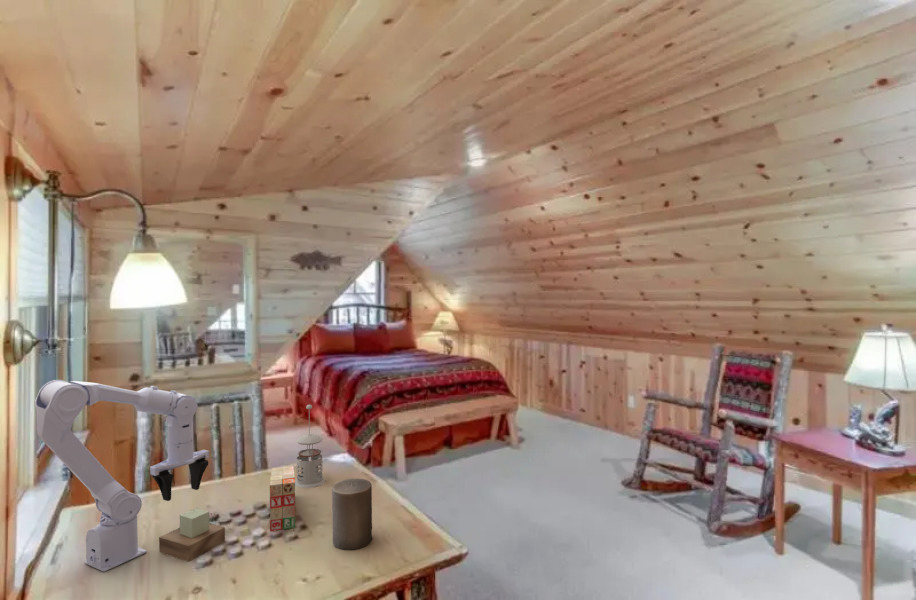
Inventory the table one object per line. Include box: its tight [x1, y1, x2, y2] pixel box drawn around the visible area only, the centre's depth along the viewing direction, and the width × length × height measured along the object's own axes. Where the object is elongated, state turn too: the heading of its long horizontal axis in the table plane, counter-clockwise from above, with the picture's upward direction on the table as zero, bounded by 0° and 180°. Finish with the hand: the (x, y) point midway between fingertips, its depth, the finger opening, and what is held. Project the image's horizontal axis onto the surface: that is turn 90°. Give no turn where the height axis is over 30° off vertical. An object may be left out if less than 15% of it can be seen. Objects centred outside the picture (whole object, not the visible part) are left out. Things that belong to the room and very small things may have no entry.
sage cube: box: [179, 507, 210, 538], centre depth 123 cm, size 4×4×4 cm
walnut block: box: [158, 522, 226, 562], centre depth 123 cm, size 10×10×4 cm
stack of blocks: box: [269, 465, 296, 532], centre depth 141 cm, size 21×6×12 cm, turn 19°
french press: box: [295, 404, 326, 489], centre depth 164 cm, size 10×12×25 cm
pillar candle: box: [331, 478, 374, 551], centre depth 126 cm, size 10×10×15 cm
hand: (181, 494), depth 130 cm, fingers open, 7 cm apart
